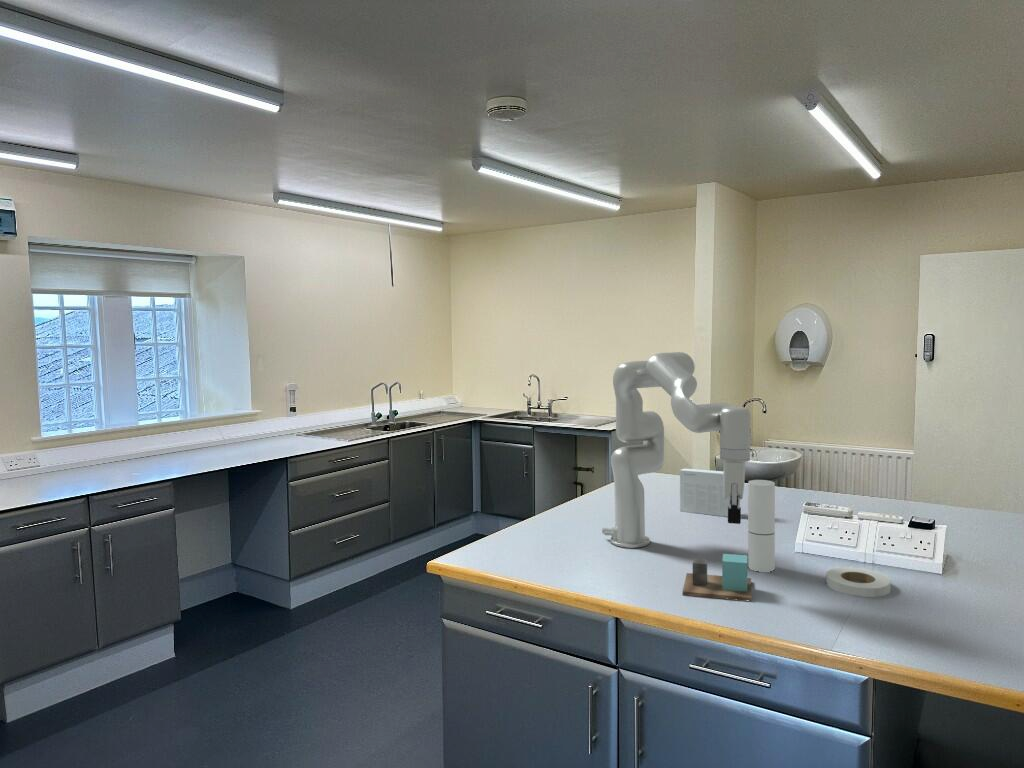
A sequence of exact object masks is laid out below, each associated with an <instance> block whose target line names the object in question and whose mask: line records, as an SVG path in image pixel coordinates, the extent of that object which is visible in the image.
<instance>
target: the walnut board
mask: <svg viewBox="0 0 1024 768" xmlns="http://www.w3.org/2000/svg"><path fill="white" fill-rule="evenodd" d="M683 583H684V584H683V588H682V596H687V597H688V596H689V597H698V596H701V597H700V598H709V597H715V598H714V599H719V598H728V599H727V600H730V599H737V600H736V601H741V600H749V601H748V602H752V578H751V577H750V578H749V577H747V592H745V591H734V590H723V589H722V575H718V574H717V575H716V574H715V575H714V574H708V559H702V558H693V559H692V573H691V572H690V573H689V572H687V573H686V574H685V580H684V582H683Z"/></svg>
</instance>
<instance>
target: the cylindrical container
mask: <svg viewBox="0 0 1024 768" xmlns="http://www.w3.org/2000/svg"><path fill="white" fill-rule="evenodd" d="M747 484H748V485H747V486H748V487H747V489H748V493H747V494H748V497H747V499H748V502H747V503H748V504H747V506H748V508H747V509H748V510H747V511H748V512H747V514H748V517H747V518H748V520H747V522H748V523H747V524H748V525H747V529H748V531H747V532H748V534H747V537H748V539H747V540H748V541H747V545H748V546H747V547H748V548H747V549H748V550H747V568H748V567H749V568H750V569H751V571H753V570H754V571H753V572H756V571H759V572H758V573H770V572H769V571H772V572H774V571H775V570H774V569H775V564H776V563H775V561H776V559H775V555H776V554H775V550H776V548H775V547H776V543H775V541H776V540H775V539H776V534H775V533H776V530H775V529H776V527H775V526H776V518H775V517H776V513H775V512H776V483H775V482H774V481H772V480H767V479H753V480H749V481H748V483H747ZM749 568H748V569H749ZM750 569H749V570H750ZM773 570H774V571H773Z"/></svg>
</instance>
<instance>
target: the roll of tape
mask: <svg viewBox="0 0 1024 768" xmlns="http://www.w3.org/2000/svg"><path fill="white" fill-rule="evenodd" d="M825 581H826V583H827V584H826V583H825V584H826V585H827V586H828V588H830V589H832V590H833V589H834V591H835V592H838V593H842V594H845V595H849V596H855V597H862V598H877V597H884V596H887V595H889V594H890V593H891V589H892V581H891V579H890V578H889V576H887V575H885V574H884V573H882V572H878V571H877V570H874V569H869V568H863V567H854V566H840V567H832V568H830V569H829V570H827V571H826V574H825Z"/></svg>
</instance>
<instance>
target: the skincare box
mask: <svg viewBox="0 0 1024 768" xmlns="http://www.w3.org/2000/svg"><path fill="white" fill-rule="evenodd" d="M728 507H729V497H728V498H726V499H724V498H723V470H713V469H711V470H709V469H697V468H682V469H679V512H683V513H692V514H699V515H700V514H701V515H709V516H717V517H725V518H728Z"/></svg>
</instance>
